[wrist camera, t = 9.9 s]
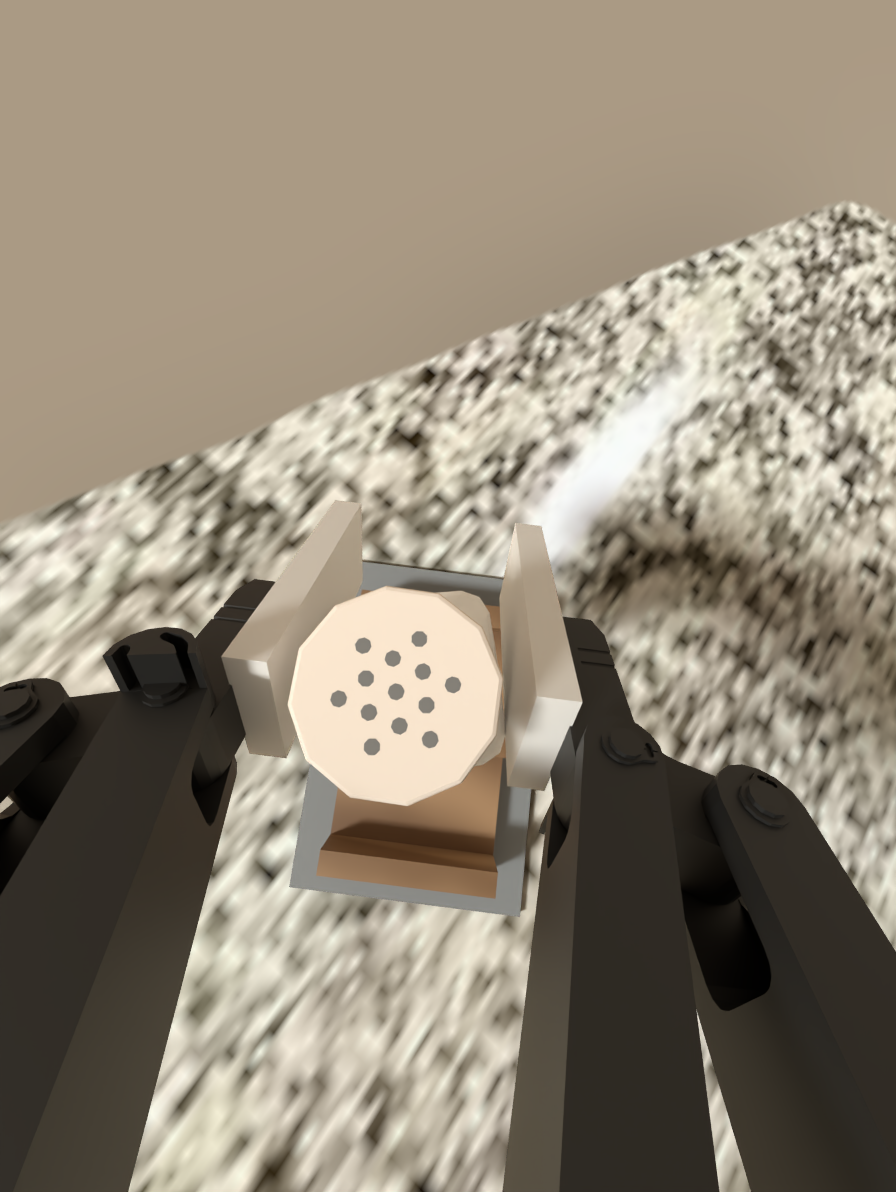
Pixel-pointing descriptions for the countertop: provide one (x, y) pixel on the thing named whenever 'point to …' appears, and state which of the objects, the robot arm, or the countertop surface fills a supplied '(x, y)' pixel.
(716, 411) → the countertop surface
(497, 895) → the mat
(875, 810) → the countertop surface
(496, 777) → the rack
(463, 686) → the salt shaker
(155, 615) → the countertop surface
